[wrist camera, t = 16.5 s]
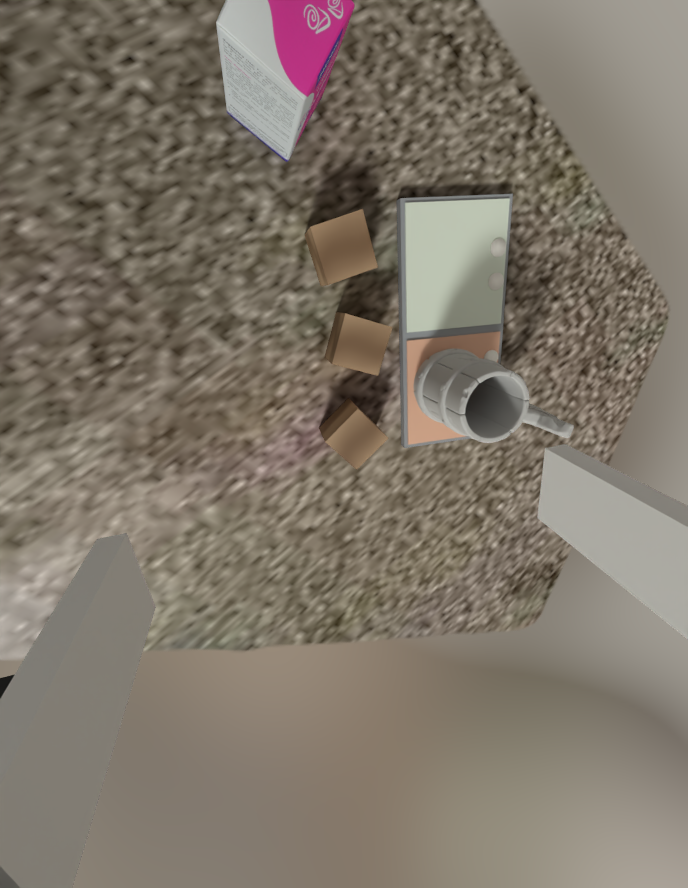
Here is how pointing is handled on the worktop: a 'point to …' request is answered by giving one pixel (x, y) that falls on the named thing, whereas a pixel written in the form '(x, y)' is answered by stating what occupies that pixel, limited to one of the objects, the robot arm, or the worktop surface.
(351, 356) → the walnut block
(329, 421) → the walnut block
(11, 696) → the robot arm
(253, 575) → the worktop surface
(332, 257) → the walnut block
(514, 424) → the mug
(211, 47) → the worktop surface
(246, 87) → the supplement box
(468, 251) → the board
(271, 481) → the worktop surface
